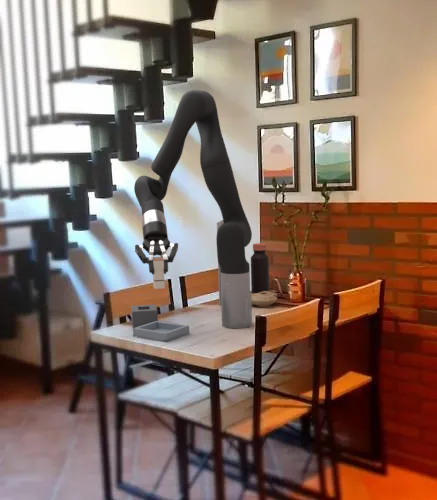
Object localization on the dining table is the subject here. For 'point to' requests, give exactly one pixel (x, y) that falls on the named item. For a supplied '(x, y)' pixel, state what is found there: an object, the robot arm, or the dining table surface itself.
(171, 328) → the tray
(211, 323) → the dining table surface
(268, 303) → the pottery oil lamp
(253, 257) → the bottle
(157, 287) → the block
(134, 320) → the panel
